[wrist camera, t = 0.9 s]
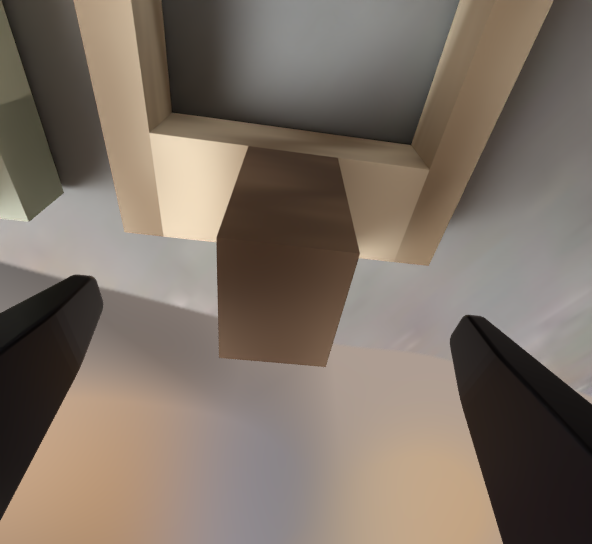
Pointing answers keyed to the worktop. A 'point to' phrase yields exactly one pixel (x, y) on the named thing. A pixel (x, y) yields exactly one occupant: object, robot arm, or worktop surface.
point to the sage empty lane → (21, 140)
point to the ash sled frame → (295, 173)
